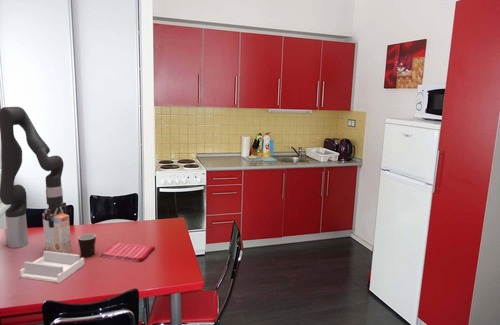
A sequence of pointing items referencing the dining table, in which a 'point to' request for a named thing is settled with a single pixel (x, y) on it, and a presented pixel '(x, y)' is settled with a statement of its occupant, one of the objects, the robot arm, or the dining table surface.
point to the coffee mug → (87, 244)
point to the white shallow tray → (52, 267)
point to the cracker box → (57, 234)
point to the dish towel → (128, 252)
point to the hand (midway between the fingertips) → (56, 225)
